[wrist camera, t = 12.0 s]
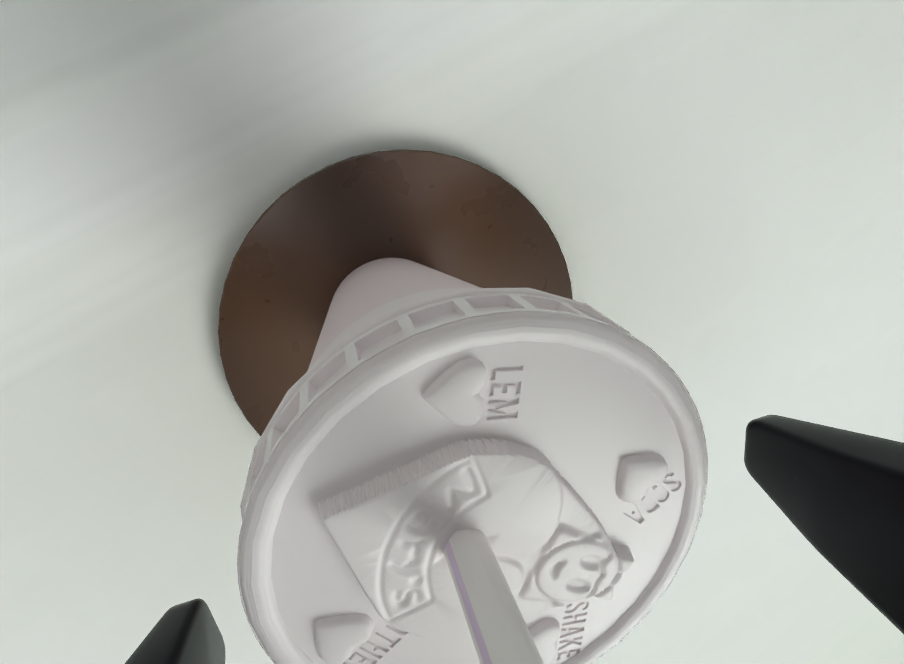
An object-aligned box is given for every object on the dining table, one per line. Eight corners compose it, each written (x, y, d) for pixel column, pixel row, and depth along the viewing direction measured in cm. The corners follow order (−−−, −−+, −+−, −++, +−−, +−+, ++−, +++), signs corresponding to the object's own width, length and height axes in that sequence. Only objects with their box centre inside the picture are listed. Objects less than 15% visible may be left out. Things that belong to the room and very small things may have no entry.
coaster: (472, 72, 14) (476, 69, 14) (613, 367, 18) (619, 371, 18) (129, 288, 14) (124, 292, 13) (360, 536, 18) (361, 544, 18)
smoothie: (329, 170, 13) (654, 534, 1) (526, 261, 16) (1432, 733, 3) (248, 378, 15) (-157, 1835, 2) (441, 435, 17) (823, 1275, 4)
